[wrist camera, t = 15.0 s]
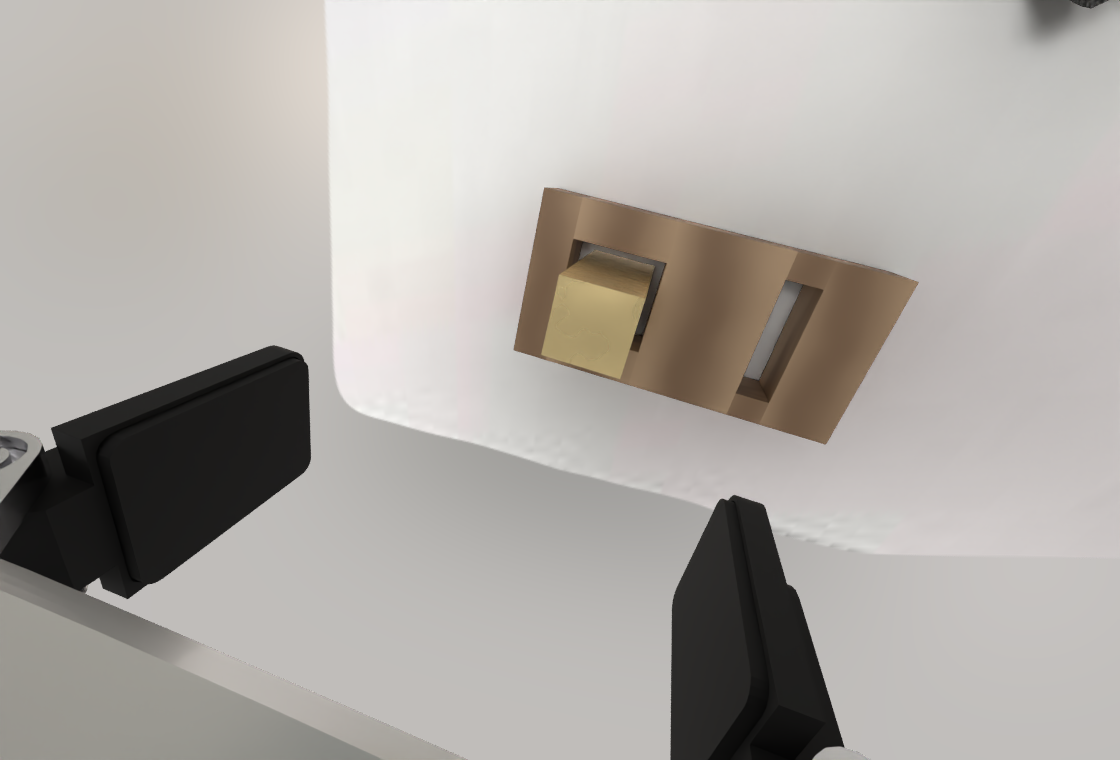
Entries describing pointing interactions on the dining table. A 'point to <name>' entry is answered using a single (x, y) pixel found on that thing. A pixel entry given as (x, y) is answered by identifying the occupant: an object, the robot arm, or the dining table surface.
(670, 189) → the dining table surface
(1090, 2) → the hammer
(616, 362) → the square bit
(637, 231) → the block
